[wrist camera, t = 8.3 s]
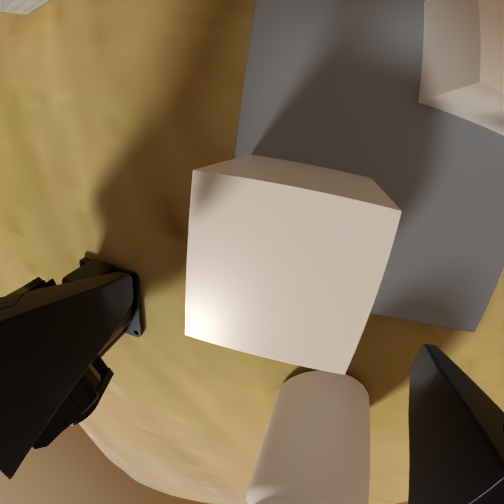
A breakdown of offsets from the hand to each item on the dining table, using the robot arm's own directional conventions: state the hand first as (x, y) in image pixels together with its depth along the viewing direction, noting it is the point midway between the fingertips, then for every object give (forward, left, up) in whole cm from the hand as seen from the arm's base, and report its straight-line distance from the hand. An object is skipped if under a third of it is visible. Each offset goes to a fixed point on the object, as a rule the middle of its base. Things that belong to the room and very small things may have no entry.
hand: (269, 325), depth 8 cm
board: (+6, -5, -12) cm, 14 cm away
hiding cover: (+12, -9, -11) cm, 18 cm away
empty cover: (0, 0, -11) cm, 11 cm away
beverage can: (-15, -5, -12) cm, 20 cm away
